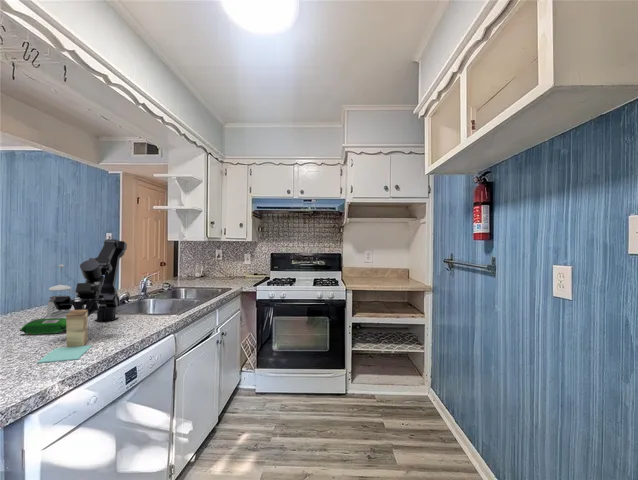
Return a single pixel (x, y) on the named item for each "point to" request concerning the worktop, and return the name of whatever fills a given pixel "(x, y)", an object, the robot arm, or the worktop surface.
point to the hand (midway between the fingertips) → (80, 322)
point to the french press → (50, 303)
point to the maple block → (77, 328)
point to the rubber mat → (65, 354)
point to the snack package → (45, 326)
